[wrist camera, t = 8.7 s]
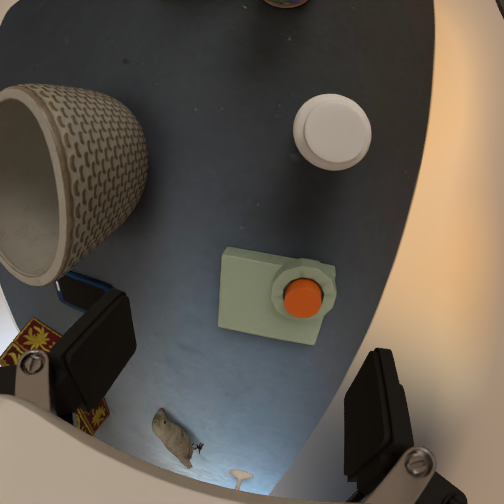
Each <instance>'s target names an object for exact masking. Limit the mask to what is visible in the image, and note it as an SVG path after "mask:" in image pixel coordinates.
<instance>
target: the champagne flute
mask: <svg viewBox="0 0 504 504" xmlns="http://www.w3.org/2000/svg"><path fill="white" fill-rule="evenodd" d="M230 473H231V474H232V475H233V476H234V477H236V478H237V479H238V480H237V484H236V487H235V490H239V489H240V485H241V481H242V480H244V479H248V478H252V477H253V475H252V474H250V473H248V472H244V471H240V470H231V471H230Z"/></svg>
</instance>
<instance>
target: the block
mask: <svg viewBox="0 0 504 504" xmlns="http://www.w3.org/2000/svg"><path fill="white" fill-rule="evenodd" d="M335 277H336V272H335V266H334V265H328V264H323V263H320V262H319V261H316V260H310V259H305V258H300V259H295V258H290V257H284V256H278V255H273V254H267V253H262V252H256V251H251V250H245V249H240V248H234V247H229V246H228V247H227V248H226V249H225V251H224V252H223V254H222V261H221V278H220V297H219V318H218V327H222V328H227V329H231V330H236V331H240V332H245V333H250V334H255V335H260V336H265V337H270V338H275V339H280V340H286V341H291V342H297V343H303V344H309V345H315V342H316V339H317V336H318V333H319V330H320V327H321V324H322V321H323V318H324V315H325V314H326V313H327V312H328V311H330V310H331V309H332V308H333V305H334V302H335V298H336V295H337V292H336V284H335ZM297 279H309V280H312V281H314V282H315V283H316V284H317V285H318V286H319V287H320V290H321V308H320V310H319V311H318V312H317V313H316V314H315V315H313V316H311V317H309V318H297V317H294V316H292V315H291V314H290V313H288V311H287V310H286V308H285V306H284V299H285V293H286V289H287V287H288V285H289V284H290V283H291V282H293V281H295V280H297Z"/></svg>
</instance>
